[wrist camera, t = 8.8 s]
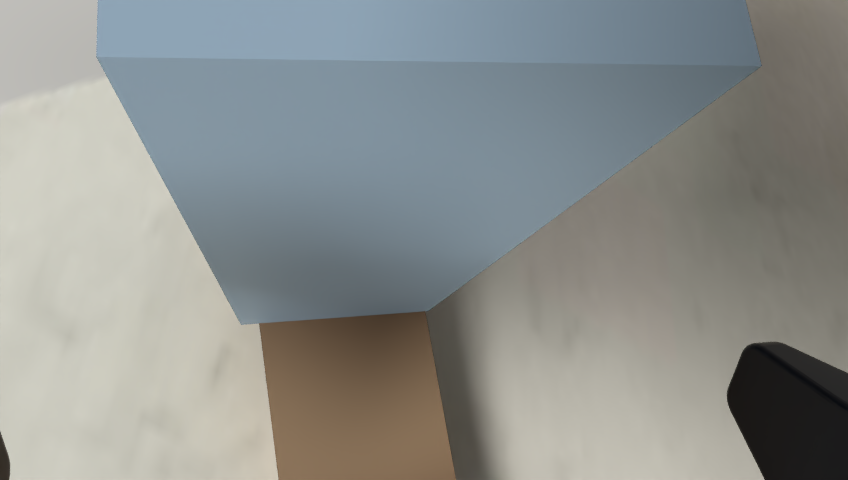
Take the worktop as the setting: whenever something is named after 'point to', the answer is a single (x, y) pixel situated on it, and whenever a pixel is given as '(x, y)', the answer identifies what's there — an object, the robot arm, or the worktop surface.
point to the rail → (356, 399)
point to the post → (399, 128)
